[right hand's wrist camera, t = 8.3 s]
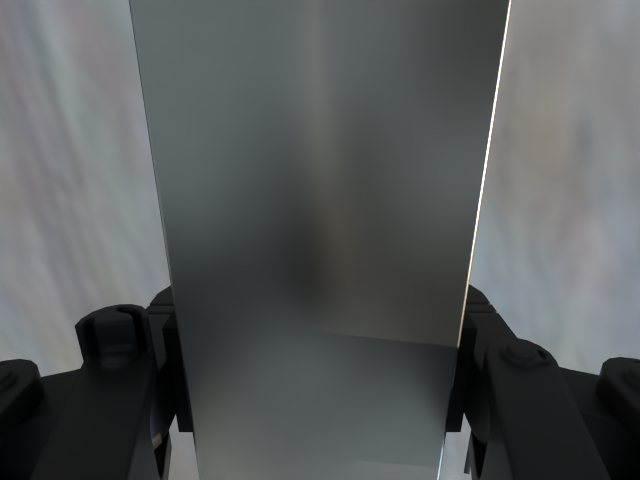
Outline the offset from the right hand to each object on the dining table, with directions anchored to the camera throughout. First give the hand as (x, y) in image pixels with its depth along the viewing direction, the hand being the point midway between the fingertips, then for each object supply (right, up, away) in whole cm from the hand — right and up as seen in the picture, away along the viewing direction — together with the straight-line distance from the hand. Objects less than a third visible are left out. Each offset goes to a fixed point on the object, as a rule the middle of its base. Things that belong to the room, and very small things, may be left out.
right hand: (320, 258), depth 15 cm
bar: (0, +8, -2) cm, 8 cm away
